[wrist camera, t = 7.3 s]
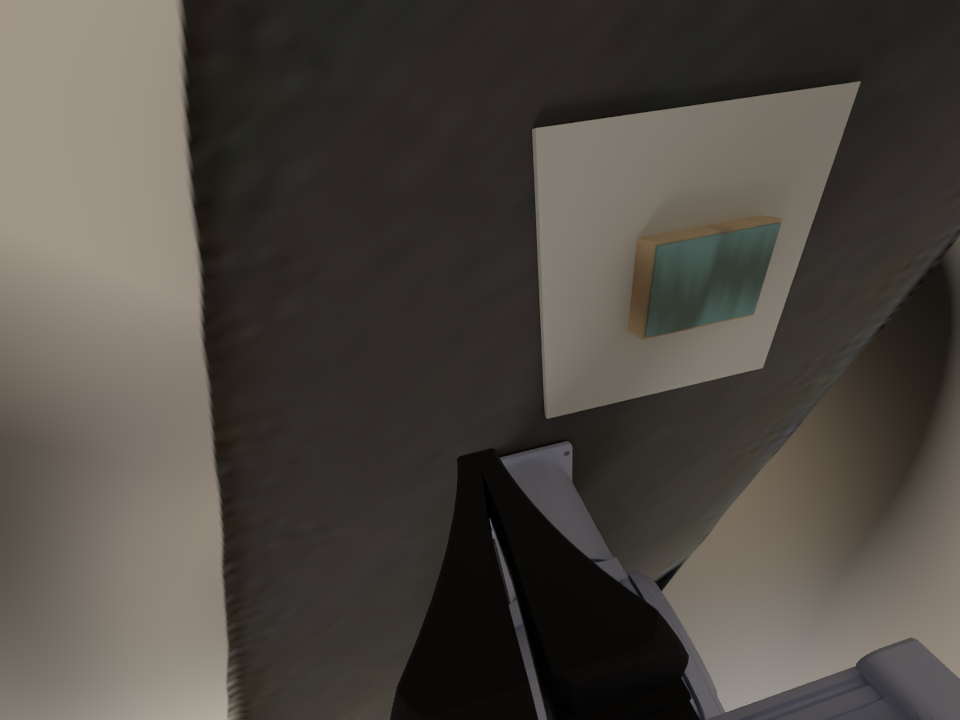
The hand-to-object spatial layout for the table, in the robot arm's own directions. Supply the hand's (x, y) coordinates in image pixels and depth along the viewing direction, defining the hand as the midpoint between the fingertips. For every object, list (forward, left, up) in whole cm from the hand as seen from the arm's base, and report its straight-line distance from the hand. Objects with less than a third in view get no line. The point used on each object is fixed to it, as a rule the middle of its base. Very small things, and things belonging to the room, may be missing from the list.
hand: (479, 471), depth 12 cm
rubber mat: (+2, -15, -10) cm, 18 cm away
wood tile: (+2, -12, -9) cm, 15 cm away
